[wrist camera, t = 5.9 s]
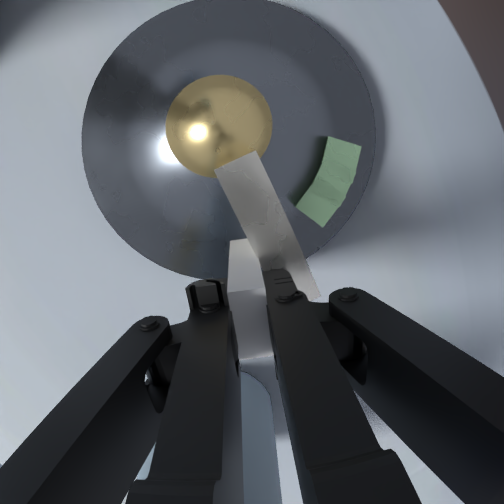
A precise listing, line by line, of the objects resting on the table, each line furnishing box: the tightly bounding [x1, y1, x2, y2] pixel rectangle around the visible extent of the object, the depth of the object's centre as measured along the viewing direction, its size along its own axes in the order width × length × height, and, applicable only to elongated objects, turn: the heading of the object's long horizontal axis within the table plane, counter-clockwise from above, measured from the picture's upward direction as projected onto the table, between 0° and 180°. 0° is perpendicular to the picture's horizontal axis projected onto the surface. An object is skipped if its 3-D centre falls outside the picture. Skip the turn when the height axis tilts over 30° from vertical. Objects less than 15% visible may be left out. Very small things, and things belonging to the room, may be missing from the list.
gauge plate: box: [82, 0, 375, 279], centre depth 17 cm, size 17×17×1 cm
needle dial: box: [166, 75, 321, 301], centre depth 15 cm, size 11×4×5 cm, turn 25°
